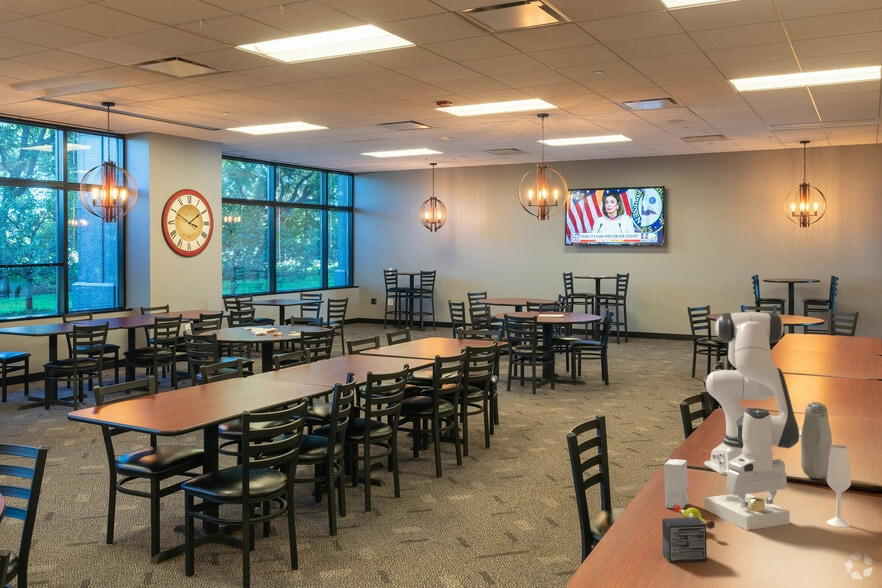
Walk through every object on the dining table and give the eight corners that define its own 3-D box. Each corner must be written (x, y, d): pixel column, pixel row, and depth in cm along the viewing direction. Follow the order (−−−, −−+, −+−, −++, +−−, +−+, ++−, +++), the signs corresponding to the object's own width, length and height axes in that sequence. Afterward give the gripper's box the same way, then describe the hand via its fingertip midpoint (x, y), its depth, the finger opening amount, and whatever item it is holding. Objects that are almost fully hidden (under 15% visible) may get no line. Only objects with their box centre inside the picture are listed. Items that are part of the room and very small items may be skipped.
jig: (704, 509, 251) (704, 497, 251) (745, 504, 256) (745, 492, 256) (746, 530, 232) (746, 517, 232) (789, 523, 237) (789, 511, 237)
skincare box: (682, 510, 251) (682, 465, 250) (663, 507, 254) (663, 463, 253) (688, 503, 258) (688, 459, 257) (669, 500, 261) (669, 457, 260)
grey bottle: (834, 482, 278) (835, 405, 276) (804, 481, 280) (805, 405, 278) (826, 474, 287) (827, 400, 286) (797, 473, 290) (798, 399, 288)
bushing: (746, 520, 241) (746, 498, 240) (758, 518, 242) (758, 496, 242) (756, 524, 236) (756, 502, 236) (767, 523, 238) (768, 500, 237)
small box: (698, 552, 216) (698, 516, 215) (707, 562, 209) (707, 524, 209) (661, 553, 215) (661, 517, 215) (669, 563, 209) (669, 525, 208)
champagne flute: (829, 518, 241) (829, 442, 240) (852, 522, 237) (853, 445, 236) (823, 524, 236) (824, 447, 235) (848, 528, 232) (848, 450, 230)
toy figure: (666, 521, 240) (666, 500, 240) (680, 519, 242) (680, 498, 242) (704, 541, 224) (704, 518, 223) (720, 538, 226) (720, 516, 225)
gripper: (777, 456, 244) (776, 498, 245) (723, 462, 238) (723, 506, 239) (791, 461, 238) (791, 504, 239) (737, 467, 232) (736, 512, 233)
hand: (756, 505), depth 239 cm, fingers open, 8 cm apart
